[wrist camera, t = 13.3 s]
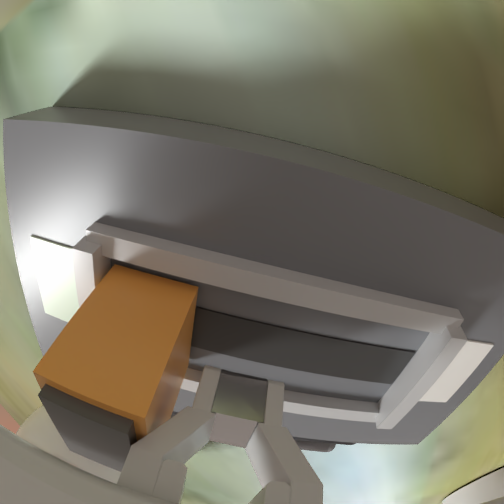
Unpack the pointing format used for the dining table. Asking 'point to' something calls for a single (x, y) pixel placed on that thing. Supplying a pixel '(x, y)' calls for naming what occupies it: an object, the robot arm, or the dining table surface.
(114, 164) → the panel
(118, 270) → the lever
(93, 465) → the lidded jar
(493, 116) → the dining table surface
